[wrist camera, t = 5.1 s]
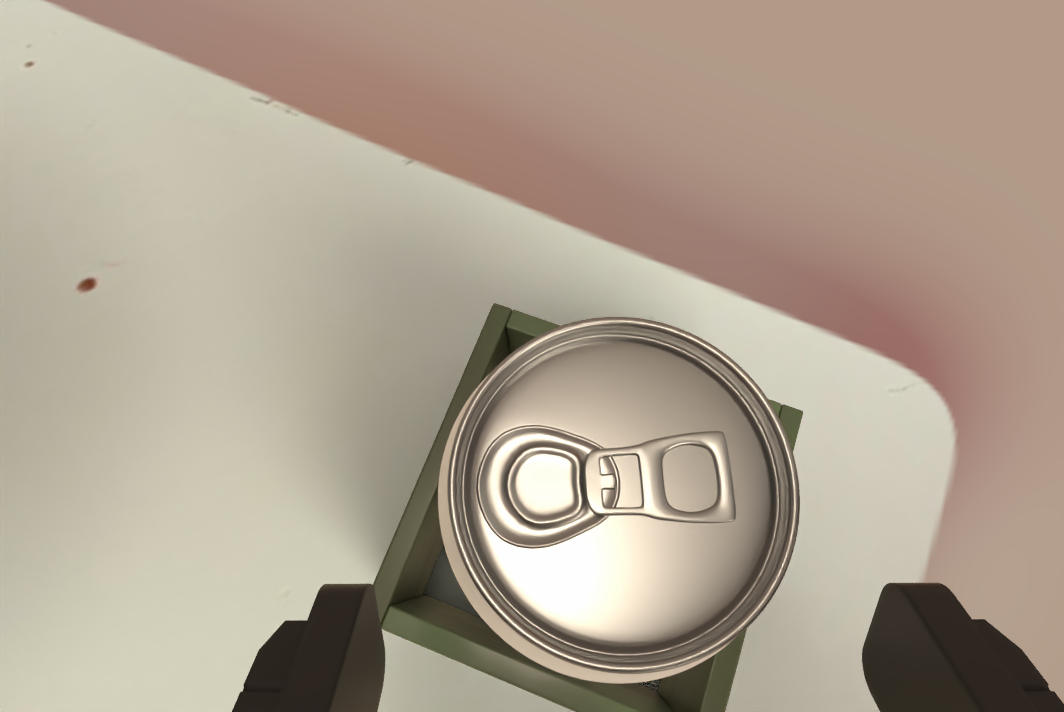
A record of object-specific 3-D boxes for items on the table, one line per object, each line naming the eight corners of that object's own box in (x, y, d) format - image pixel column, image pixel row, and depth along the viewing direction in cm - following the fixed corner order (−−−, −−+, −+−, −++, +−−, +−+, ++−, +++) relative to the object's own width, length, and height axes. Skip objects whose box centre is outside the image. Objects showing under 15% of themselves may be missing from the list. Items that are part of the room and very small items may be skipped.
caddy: (748, 442, 22) (804, 411, 18) (669, 719, 20) (710, 769, 15) (503, 353, 24) (493, 301, 19) (398, 605, 21) (357, 619, 16)
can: (481, 430, 23) (419, 301, 11) (665, 422, 23) (792, 283, 11) (486, 629, 21) (418, 718, 9) (686, 619, 21) (867, 697, 9)
